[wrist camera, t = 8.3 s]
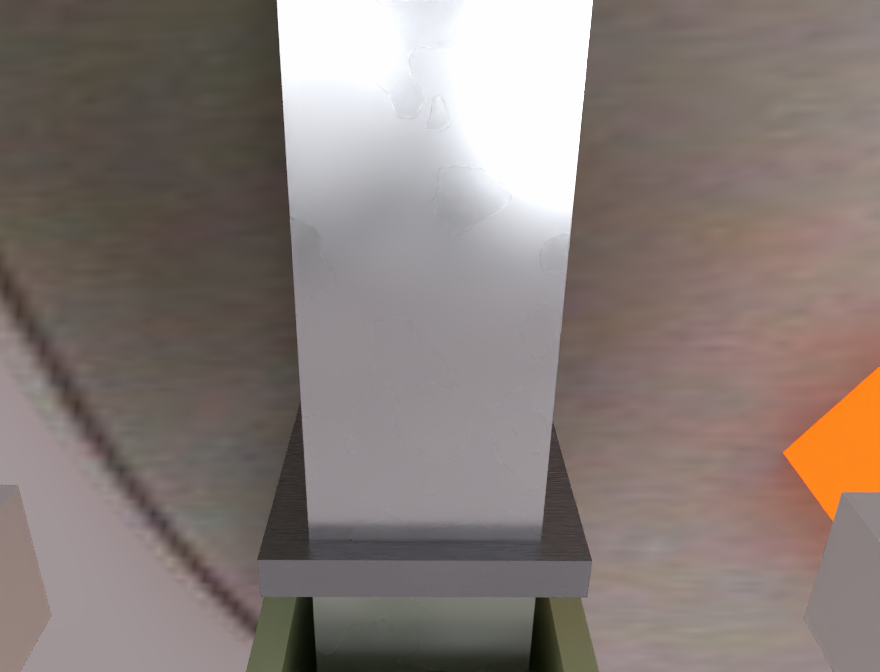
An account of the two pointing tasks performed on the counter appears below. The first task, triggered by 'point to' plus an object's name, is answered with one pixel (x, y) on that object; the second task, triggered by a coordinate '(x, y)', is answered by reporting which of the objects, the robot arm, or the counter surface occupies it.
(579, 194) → the counter surface
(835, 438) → the orange juice
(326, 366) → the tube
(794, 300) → the counter surface
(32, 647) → the robot arm
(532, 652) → the socket
